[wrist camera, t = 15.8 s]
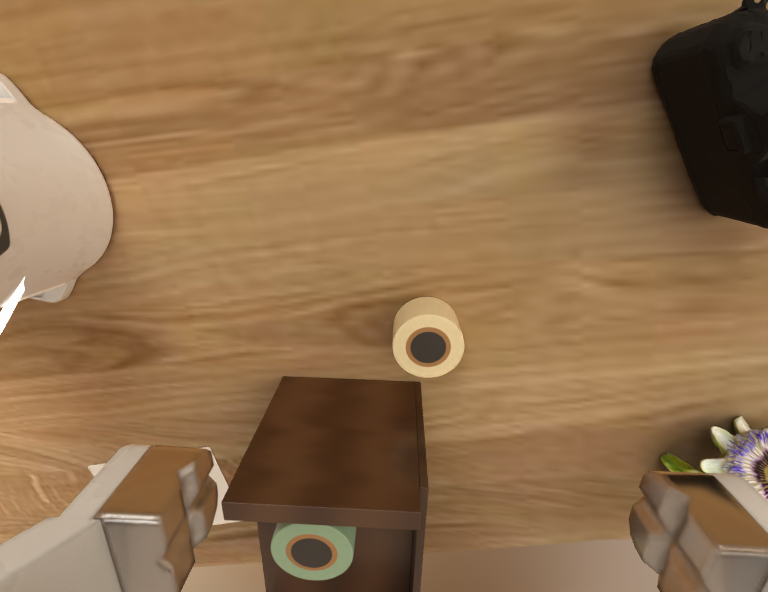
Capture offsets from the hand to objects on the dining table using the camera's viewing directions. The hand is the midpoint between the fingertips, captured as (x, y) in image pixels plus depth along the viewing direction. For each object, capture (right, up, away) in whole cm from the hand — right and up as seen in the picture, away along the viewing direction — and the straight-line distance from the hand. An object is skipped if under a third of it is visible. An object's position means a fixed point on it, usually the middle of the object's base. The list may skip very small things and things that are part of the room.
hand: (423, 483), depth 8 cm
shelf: (-4, -14, +36) cm, 39 cm away
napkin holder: (-26, -19, +39) cm, 51 cm away
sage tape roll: (-6, -13, +25) cm, 29 cm away
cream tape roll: (+3, +1, +30) cm, 30 cm away
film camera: (+25, +18, +23) cm, 38 cm away
